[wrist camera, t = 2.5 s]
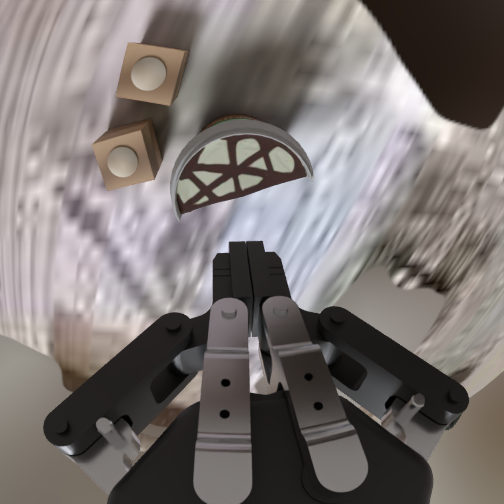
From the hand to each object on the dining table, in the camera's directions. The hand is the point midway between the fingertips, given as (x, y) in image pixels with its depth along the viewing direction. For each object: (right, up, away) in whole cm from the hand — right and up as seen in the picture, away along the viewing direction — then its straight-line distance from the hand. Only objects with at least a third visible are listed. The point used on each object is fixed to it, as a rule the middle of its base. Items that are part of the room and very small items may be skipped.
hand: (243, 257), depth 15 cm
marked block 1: (-9, +18, +12) cm, 23 cm away
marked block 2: (-12, +12, +17) cm, 23 cm away
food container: (-2, +13, +17) cm, 21 cm away
